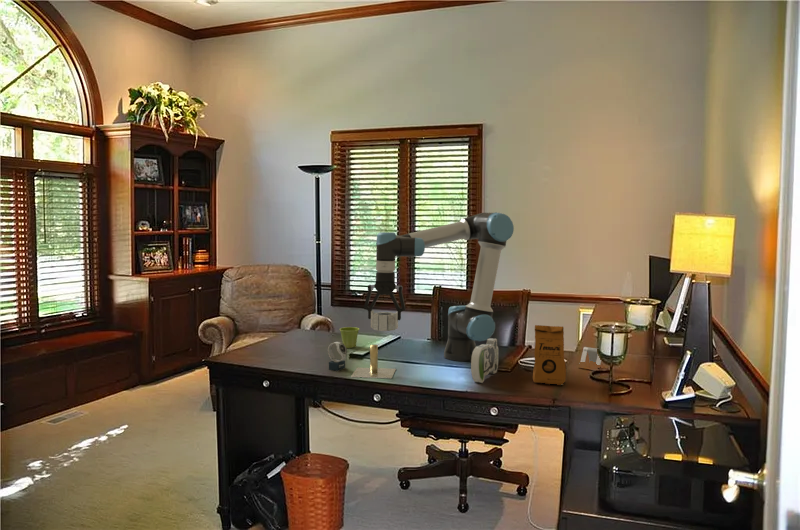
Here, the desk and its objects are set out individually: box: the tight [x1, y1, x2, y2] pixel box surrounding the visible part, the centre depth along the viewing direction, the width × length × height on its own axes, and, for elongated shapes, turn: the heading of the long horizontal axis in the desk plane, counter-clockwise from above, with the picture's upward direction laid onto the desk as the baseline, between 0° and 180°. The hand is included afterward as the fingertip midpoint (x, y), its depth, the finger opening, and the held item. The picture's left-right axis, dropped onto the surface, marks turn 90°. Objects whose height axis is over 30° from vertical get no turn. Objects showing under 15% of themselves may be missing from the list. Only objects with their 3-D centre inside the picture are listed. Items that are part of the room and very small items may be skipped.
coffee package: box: [532, 324, 567, 386], centre depth 237 cm, size 10×12×22 cm
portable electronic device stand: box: [579, 346, 602, 366], centre depth 259 cm, size 9×8×8 cm
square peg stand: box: [350, 344, 397, 379], centre depth 250 cm, size 16×14×11 cm
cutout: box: [470, 337, 499, 384], centre depth 244 cm, size 15×3×25 cm
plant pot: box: [339, 326, 360, 349], centre depth 298 cm, size 9×9×9 cm
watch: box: [327, 341, 348, 372], centre depth 257 cm, size 6×8×11 cm
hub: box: [372, 311, 397, 332], centre depth 250 cm, size 9×9×6 cm
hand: (384, 327), depth 250 cm, fingers closed on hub, 9 cm apart
